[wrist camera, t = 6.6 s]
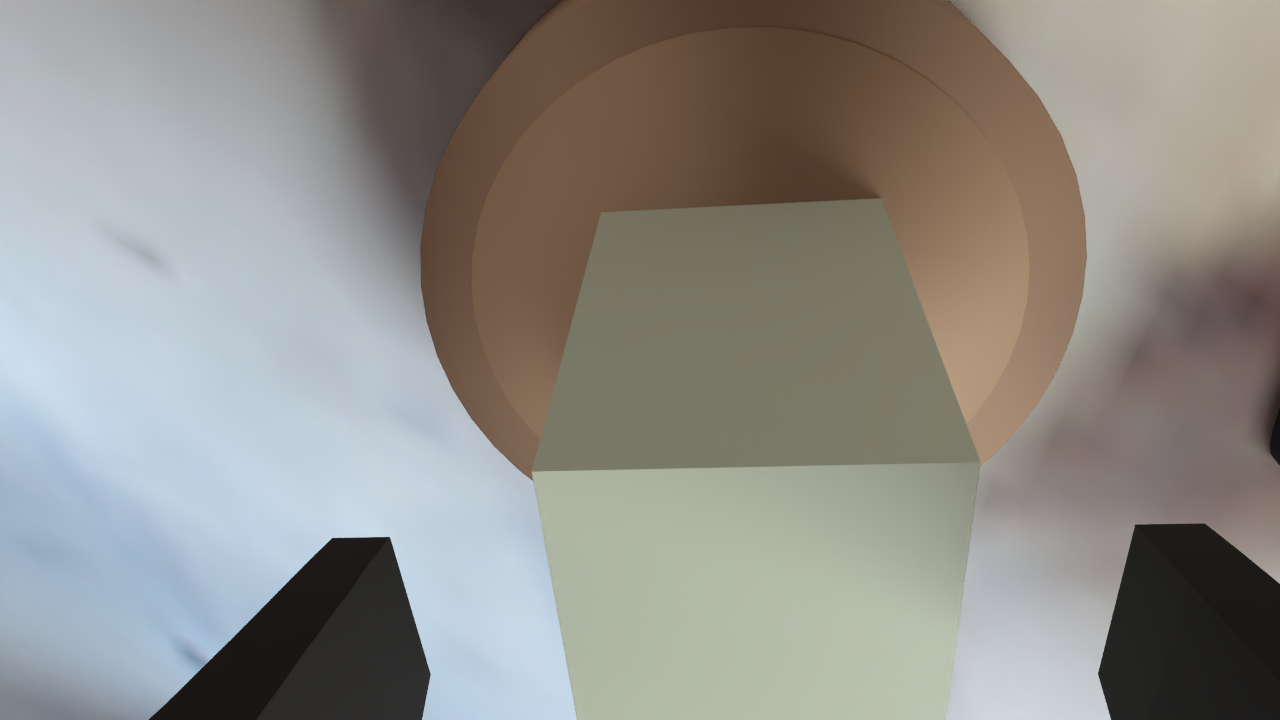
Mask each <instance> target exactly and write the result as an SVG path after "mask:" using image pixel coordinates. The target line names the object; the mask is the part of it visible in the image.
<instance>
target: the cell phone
mask: <svg viewBox="0 0 1280 720" xmlns="http://www.w3.org/2000/svg"><path fill="white" fill-rule="evenodd" d="M1270 447H1271V455H1272V456H1273V458H1274V459H1275V460H1276V461H1277V463H1278V464H1279V465H1280V410H1279V413H1278V416H1277V419H1276V422H1275V425H1274V428H1273V433H1272V438H1271V444H1270Z"/></svg>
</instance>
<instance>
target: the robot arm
mask: <svg viewBox="0 0 1280 720" xmlns="http://www.w3.org/2000/svg"><path fill="white" fill-rule="evenodd" d="M1098 675H1099V678H1100V682H1101V685H1102V689H1103V692H1104V696H1105V699H1106V703H1107V706H1108V710H1109V713H1110V717H1111V720H1280V584H1279V583H1278V582H1277V581H1275V580H1274V579H1273V578H1272V577H1271V576H1269V575H1268V574H1267V573H1266V572H1264V571H1263V570H1262V569H1261V568H1260V567H1258V566H1257V565H1256V564H1255V563H1253V562H1252V561H1251V560H1250V559H1249V558H1247V557H1246V556H1245V555H1244V554H1242V553H1241V552H1240V551H1239V550H1238V549H1236V548H1235V547H1234V546H1233V545H1231V544H1230V543H1229V542H1228V541H1226V540H1225V539H1224V538H1222V537H1221V536H1220V535H1219V534H1217V533H1216V532H1215V531H1213V530H1212V529H1211V528H1210V527H1208V526H1207V525H1206V524H1149V525H1135V528H1134V532H1133V536H1132V540H1131V544H1130V548H1129V552H1128V556H1127V560H1126V564H1125V568H1124V572H1123V576H1122V580H1121V584H1120V588H1119V592H1118V596H1117V600H1116V604H1115V608H1114V612H1113V616H1112V620H1111V624H1110V628H1109V632H1108V636H1107V640H1106V644H1105V648H1104V652H1103V656H1102V660H1101V664H1100V668H1099V672H1098ZM429 680H430V671H429V668H428V664H427V661H426V658H425V654H424V651H423V647H422V644H421V641H420V637H419V634H418V631H417V627H416V624H415V620H414V617H413V614H412V610H411V607H410V604H409V600H408V597H407V593H406V590H405V587H404V583H403V580H402V576H401V573H400V570H399V566H398V563H397V560H396V556H395V553H394V549H393V546H392V543H391V539H390V537H371V538H332V539H331V540H330V541H329V542H328V543H327V544H326V545H325V546H324V547H323V548H322V549H321V550H320V551H319V552H318V553H316V554H315V555H314V556H313V557H312V558H311V559H310V560H309V561H308V562H307V563H306V564H305V565H304V566H303V567H302V568H301V569H300V570H299V571H298V572H297V573H296V575H295V576H294V577H293V578H292V579H291V580H290V581H289V582H288V583H287V584H286V585H285V586H284V587H283V588H282V589H281V590H280V591H279V592H278V593H277V594H276V595H275V596H274V597H273V598H272V599H271V600H270V601H269V602H268V603H267V604H266V605H265V606H264V607H263V608H262V609H261V610H260V611H259V612H258V613H257V614H256V615H255V616H254V617H253V618H252V619H251V620H250V621H249V622H248V623H247V624H246V625H245V626H244V627H243V628H242V629H241V630H240V631H239V632H238V633H237V634H236V635H235V636H234V637H233V638H232V639H231V640H230V641H229V642H228V643H227V644H226V645H225V646H224V647H223V648H222V649H221V650H220V651H219V652H218V653H217V654H216V655H215V656H214V657H213V658H212V659H211V660H210V661H209V662H208V663H207V664H206V665H205V666H204V667H203V668H202V669H201V670H200V671H199V672H198V673H197V674H196V675H195V676H194V677H193V678H192V679H191V680H190V681H189V682H188V683H187V684H186V685H185V686H184V687H183V688H182V689H181V690H180V691H179V692H178V693H177V694H175V695H174V696H173V697H172V698H171V699H170V700H169V701H168V702H167V703H166V704H165V705H164V706H163V707H162V708H161V709H160V710H159V711H158V712H157V713H155V714H154V715H153V716H152V717H151V718H150V719H149V720H422V716H423V711H424V706H425V700H426V695H427V690H428V685H429Z"/></svg>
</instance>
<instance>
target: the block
mask: <svg viewBox="0 0 1280 720" xmlns="http://www.w3.org/2000/svg"><path fill="white" fill-rule="evenodd" d="M980 463H981V462H980V459H979V457H978V454H977V451H976V449H975V446H974V443H973V441H972V438H971V435H970V433H969V430H968V427H967V425H966V422H965V419H964V417H963V414H962V411H961V409H960V406H959V404H958V401H957V398H956V396H955V393H954V390H953V388H952V385H951V382H950V380H949V377H948V374H947V372H946V369H945V366H944V364H943V361H942V358H941V356H940V353H939V350H938V348H937V345H936V342H935V340H934V337H933V334H932V332H931V329H930V326H929V324H928V321H927V318H926V316H925V313H924V310H923V308H922V305H921V302H920V300H919V297H918V294H917V292H916V289H915V286H914V284H913V281H912V278H911V276H910V273H909V270H908V268H907V265H906V262H905V260H904V257H903V254H902V252H901V249H900V246H899V244H898V241H897V238H896V236H895V233H894V230H893V228H892V225H891V223H890V220H889V217H888V215H887V212H886V209H885V207H884V204H883V201H882V199H881V198H877V199H857V200H837V201H817V202H797V203H777V204H757V205H736V206H716V207H696V208H676V209H656V210H636V211H616V212H601V215H600V218H599V222H598V226H597V230H596V233H595V237H594V241H593V245H592V248H591V252H590V256H589V259H588V263H587V267H586V271H585V274H584V278H583V282H582V286H581V289H580V293H579V297H578V301H577V304H576V308H575V312H574V315H573V319H572V323H571V327H570V330H569V334H568V338H567V342H566V345H565V349H564V353H563V356H562V360H561V364H560V368H559V371H558V375H557V379H556V383H555V386H554V390H553V394H552V398H551V401H550V405H549V409H548V412H547V416H546V420H545V424H544V427H543V431H542V435H541V439H540V442H539V446H538V450H537V453H536V457H535V461H534V465H533V468H532V476H533V482H534V487H535V493H536V498H537V504H538V509H539V514H540V520H541V525H542V531H543V536H544V542H545V547H546V553H547V558H548V564H549V569H550V575H551V580H552V585H553V591H554V596H555V602H556V607H557V613H558V618H559V624H560V629H561V635H562V640H563V646H564V651H565V656H566V662H567V667H568V673H569V678H570V684H571V689H572V695H573V700H574V706H575V711H576V717H577V720H946V716H947V708H948V701H949V693H950V686H951V678H952V671H953V664H954V656H955V649H956V641H957V634H958V626H959V619H960V612H961V604H962V597H963V589H964V582H965V574H966V567H967V560H968V552H969V545H970V537H971V530H972V522H973V515H974V507H975V500H976V493H977V485H978V478H979V470H980Z"/></svg>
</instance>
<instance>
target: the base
mask: <svg viewBox="0 0 1280 720" xmlns="http://www.w3.org/2000/svg"><path fill="white" fill-rule="evenodd" d="M877 198H881V199H882V201H883V204H884V207H885V209H886V212H887V215H888V217H889V220H890V223H891V225H892V228H893V230H894V233H895V236H896V238H897V241H898V244H899V246H900V249H901V252H902V254H903V257H904V260H905V262H906V265H907V268H908V270H909V273H910V276H911V278H912V281H913V284H914V286H915V289H916V292H917V294H918V297H919V300H920V302H921V305H922V308H923V310H924V313H925V316H926V318H927V321H928V324H929V326H930V329H931V332H932V334H933V337H934V340H935V342H936V345H937V348H938V350H939V353H940V356H941V358H942V361H943V364H944V366H945V369H946V372H947V374H948V377H949V380H950V382H951V385H952V388H953V390H954V393H955V396H956V398H957V401H958V404H959V406H960V409H961V411H962V414H963V417H964V419H965V422H966V425H967V427H968V430H969V433H970V435H971V438H972V441H973V443H974V446H975V449H976V451H977V454H978V457H979V459H980V462H981V463H980V466H982V465H983V464H984V463H985V462H987V461H988V460H989V459H990V458H991V457H992V456H993V455H994V454H995V453H996V452H997V451H998V450H999V449H1000V448H1001V447H1002V446H1003V445H1004V444H1005V443H1006V442H1007V441H1008V440H1009V439H1010V438H1011V437H1012V436H1013V435H1014V434H1015V432H1016V431H1017V430H1018V428H1019V427H1020V426H1021V425H1022V423H1023V422H1024V421H1025V419H1026V418H1027V417H1028V416H1029V414H1030V413H1031V412H1032V410H1033V409H1034V408H1035V407H1036V405H1037V404H1038V402H1039V401H1040V399H1041V397H1042V396H1043V394H1044V392H1045V391H1046V389H1047V387H1048V385H1049V384H1050V382H1051V380H1052V379H1053V377H1054V375H1055V374H1056V372H1057V370H1058V368H1059V365H1060V363H1061V361H1062V358H1063V356H1064V353H1065V351H1066V349H1067V346H1068V344H1069V342H1070V339H1071V337H1072V334H1073V331H1074V327H1075V323H1076V319H1077V315H1078V311H1079V307H1080V304H1081V300H1082V296H1083V286H1084V277H1085V267H1086V258H1087V253H1086V232H1085V215H1084V210H1083V205H1082V200H1081V196H1080V191H1079V186H1078V181H1077V177H1076V173H1075V171H1074V168H1073V165H1072V163H1071V160H1070V158H1069V155H1068V152H1067V150H1066V147H1065V145H1064V142H1063V139H1062V137H1061V134H1060V133H1059V131H1058V129H1057V127H1056V126H1055V124H1054V122H1053V121H1052V119H1051V117H1050V115H1049V114H1048V112H1047V110H1046V109H1045V107H1044V105H1043V103H1042V102H1041V100H1040V98H1039V97H1038V95H1037V94H1036V93H1035V92H1034V90H1033V89H1032V88H1031V87H1030V86H1029V84H1028V83H1027V82H1026V81H1025V80H1024V78H1023V77H1022V76H1021V75H1020V73H1019V72H1018V71H1017V70H1016V69H1015V67H1014V66H1013V65H1012V64H1011V63H1010V61H1009V60H1008V59H1007V58H1006V57H1005V56H1004V55H1003V54H1002V53H1001V52H1000V51H999V50H998V49H997V48H996V47H995V46H994V45H993V44H992V43H991V42H990V41H989V40H988V39H987V38H986V37H985V36H984V35H983V34H982V33H981V32H980V31H979V30H978V29H977V28H976V27H975V26H974V25H973V24H972V23H971V22H970V21H969V20H968V19H967V18H966V17H965V16H964V15H963V14H962V13H961V12H960V11H958V10H957V9H956V8H955V7H954V6H953V5H952V4H951V3H949V2H948V1H947V0H560V1H559V2H558V3H556V4H555V5H554V6H553V7H552V8H551V9H549V10H548V11H547V12H546V13H545V14H544V15H542V16H541V17H540V18H539V19H538V20H537V21H536V22H535V23H534V25H533V26H532V27H531V28H530V29H529V30H528V31H527V33H526V34H525V35H524V36H523V37H522V38H521V39H520V41H519V42H518V43H517V44H516V45H515V46H514V47H513V49H512V50H511V51H510V52H509V54H508V55H507V56H506V58H505V59H504V61H503V62H502V63H501V65H500V66H499V67H498V69H497V70H496V71H495V73H494V74H493V75H492V77H491V78H490V79H489V81H488V82H487V83H486V85H485V86H484V87H483V89H482V90H481V92H480V93H479V94H478V96H477V97H476V99H475V100H474V102H473V103H472V105H471V106H470V108H469V110H468V111H467V113H466V114H465V116H464V117H463V119H462V120H461V122H460V123H459V125H458V127H457V128H456V130H455V131H454V133H453V135H452V138H451V140H450V142H449V144H448V146H447V148H446V151H445V153H444V155H443V157H442V159H441V162H440V164H439V166H438V168H437V171H436V174H435V178H434V181H433V185H432V188H431V192H430V195H429V199H428V202H427V206H426V210H425V217H424V225H423V232H422V240H421V288H422V294H423V300H424V306H425V313H426V319H427V323H428V327H429V330H430V333H431V336H432V340H433V343H434V346H435V349H436V353H437V356H438V358H439V360H440V363H441V365H442V367H443V369H444V371H445V373H446V376H447V378H448V380H449V382H450V384H451V386H452V388H453V390H454V392H455V393H456V395H457V397H458V398H459V400H460V401H461V403H462V404H463V406H464V408H465V409H466V411H467V412H468V414H469V415H470V417H471V419H472V420H473V421H474V422H475V424H476V425H477V426H478V427H479V428H480V430H481V431H482V432H483V433H484V435H485V436H486V437H487V438H488V439H489V441H490V442H491V443H492V444H493V445H494V447H495V448H497V449H498V450H499V451H500V452H501V453H502V454H503V455H504V456H505V457H506V458H507V459H508V460H509V461H510V462H511V463H512V464H513V465H514V466H515V467H516V468H517V469H518V470H520V471H521V472H522V473H523V474H525V475H526V476H527V477H529V478H530V479H531V480H533V476H532V468H533V465H534V461H535V457H536V453H537V450H538V446H539V442H540V439H541V435H542V431H543V427H544V424H545V420H546V416H547V412H548V409H549V405H550V401H551V398H552V394H553V390H554V386H555V383H556V379H557V375H558V371H559V368H560V364H561V360H562V356H563V353H564V349H565V345H566V342H567V338H568V334H569V330H570V327H571V323H572V319H573V315H574V312H575V308H576V304H577V301H578V297H579V293H580V289H581V286H582V282H583V278H584V274H585V271H586V267H587V263H588V259H589V256H590V252H591V248H592V245H593V241H594V237H595V233H596V230H597V226H598V222H599V218H600V215H601V212H616V211H636V210H656V209H676V208H696V207H716V206H736V205H757V204H777V203H797V202H817V201H837V200H857V199H877Z"/></svg>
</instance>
